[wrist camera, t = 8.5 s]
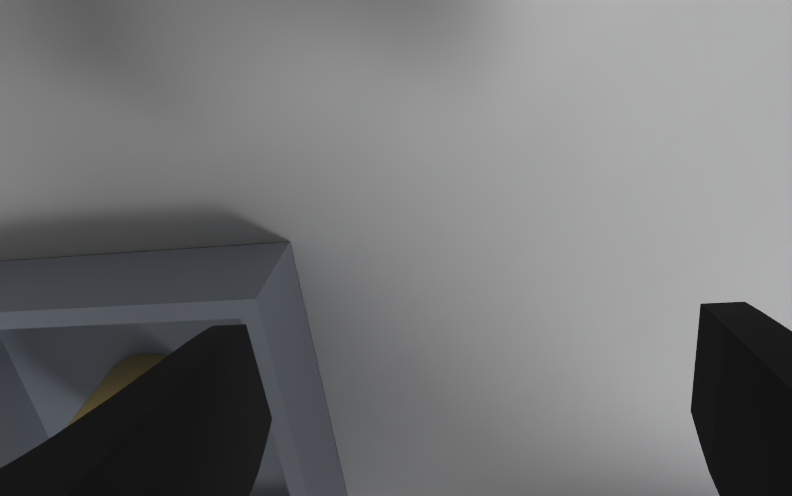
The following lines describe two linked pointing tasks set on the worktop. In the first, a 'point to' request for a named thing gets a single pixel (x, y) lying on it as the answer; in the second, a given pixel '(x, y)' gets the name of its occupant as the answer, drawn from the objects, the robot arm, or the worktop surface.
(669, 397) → the worktop surface
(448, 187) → the worktop surface
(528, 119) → the worktop surface
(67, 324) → the bin
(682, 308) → the worktop surface
